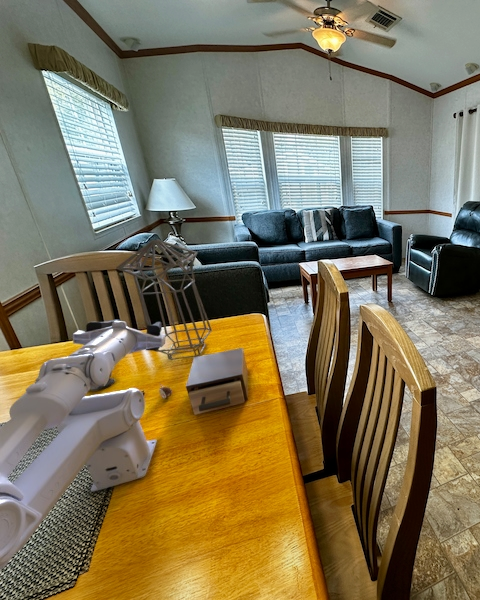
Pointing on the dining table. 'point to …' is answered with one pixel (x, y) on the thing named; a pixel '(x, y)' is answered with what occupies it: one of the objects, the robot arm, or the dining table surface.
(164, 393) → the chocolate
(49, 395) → the robot arm
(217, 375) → the cabinet
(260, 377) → the dining table surface
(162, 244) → the geometric lantern
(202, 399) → the drawer
